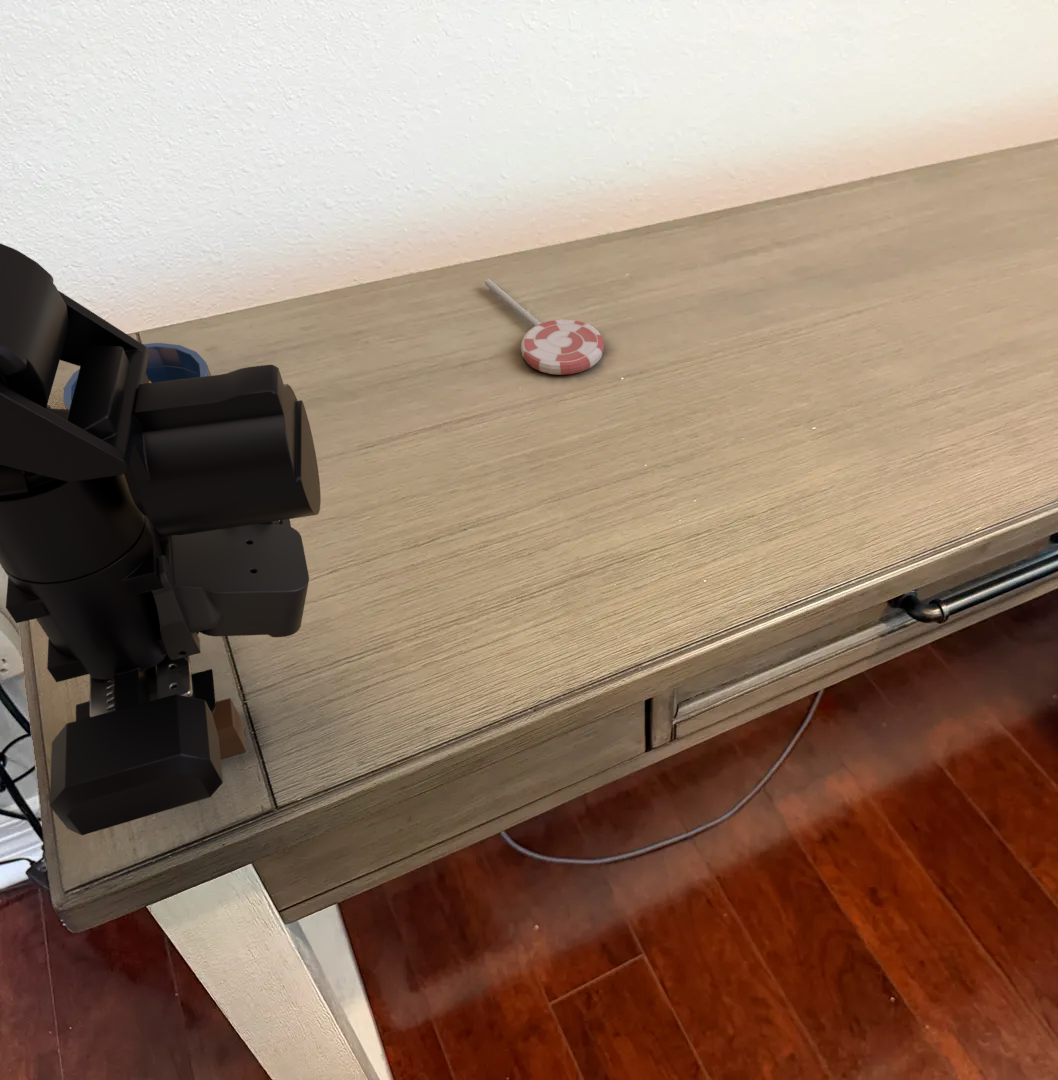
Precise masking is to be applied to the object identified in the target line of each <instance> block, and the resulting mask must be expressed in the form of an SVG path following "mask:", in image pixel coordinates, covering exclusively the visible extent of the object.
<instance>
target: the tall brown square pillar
mask: <svg viewBox="0 0 1058 1080" xmlns="http://www.w3.org/2000/svg"><path fill="white" fill-rule="evenodd" d="M213 719H214V722H215V726H216V729H217V733H218V737H219V746H220V757H221V760H222V759H225V758H229V757H233V756H236V755H240V754H244V753H246V752H247V745H246V736H245V728H244V722H243V720H242V718H241V716H240V714H239V712H238V710H237V708H236V705H235V704H234V702H233V700H232V698H231V697H229V698H226V699H225V698H224V699H222V700H218V701H216V708H215V711H214V713H213Z"/></svg>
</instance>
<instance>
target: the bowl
mask: <svg viewBox="0 0 1058 1080" xmlns="http://www.w3.org/2000/svg"><path fill="white" fill-rule="evenodd" d="M142 344H143V345H145V346H146V347H147V348H148V350H149V357H148V362H147V368H146V375H147V377H148V380H149V381H150V382H151V383H154V382H163V381H171V380H179V379H188V378H196V377H205V376H212V374H211V371H210V369H209V366H208V363H207V361H206V360H205V359H204V357H202V355H200V354H199V353H198V352H197V351H196V350H193V349H191V348H188V347H186V346H184V345H181V344H173V343H165V342H152V343H151V342H150V343H142ZM79 370H80V368H79V369H77V370H76V371H74V372H73V373H72V374H71V376H70V377H69V379H68V380H67V382H66V383H65V385H64V387H63V396H62V402H63V404H64V406H65V408H66V409H68V410H69V409H70V405H71V401H72V397H73V393H74V389H75V385H76V381H77V377H78V374H79Z"/></svg>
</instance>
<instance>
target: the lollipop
mask: <svg viewBox="0 0 1058 1080" xmlns="http://www.w3.org/2000/svg"><path fill="white" fill-rule="evenodd" d="M484 285H485V286H486V287H487V288H489V289H490V290H491V291H492V292H493V293H494V294H495V295H496V296H498V297H499V298H500V299H501V300H503V301H504V302H505V303H506V304H507V305H508V306H509V307H511V309H513V310H514V311H515V312H516V313H517V314H519V316H521V317H522V318H523V319H524V320H525V321H527V322H528V323H529V324H530V325H532V328H530V329H529V330H528V331H527V332H526V333H525V334H524V336H523V337H522V340H521V343H520V351H521V356H522V358H523V359H524V360H525V362H526V364H528V365H529V366H530V367H531V368H533V369H535V370H536V371H539V372H541V373H546V374H550V375H557V376H558V375H560V376H563V375H573V374H578V373H581V372H585V371H586V370H589V369H591V368H592V367H593V366H595V365H596V364H598V363H599V361H600V360H601V358H602V356H603V355H604V351H605V341H604V339H603V336H602V334H601V333H600V332H599V331H598V330H597V329H596V328H595V327H593V326H592V325H591V324H588V323H586V322H583V321H580V320H575V319H554V320H549V321H545V322H540V321H539V320H538V319H537V318H536V317H535V316H533V315H532V314H531V313H530V312H529V311H528V310H527V309H525V308H524V307H523V306H521V305H520V304H519V303H518V302H517V301H516V300H515V299H513V298H512V297H511V296H510V295H509V294H507V293H506V292H505V291H504V290H502V289H501V288H500V286H498V285H497V284H496V283H495V282H493V281H492V280H491V279H489V278H487V279H485V280H484Z"/></svg>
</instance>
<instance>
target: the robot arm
mask: <svg viewBox="0 0 1058 1080" xmlns="http://www.w3.org/2000/svg"><path fill="white" fill-rule="evenodd" d="M143 344H144V343H142V342H140V341H138V340H137V339H135V338H134V337H132V336H130V335H129V334H127V333H126V332H125V331H123V330H121V329H120V328H118V327H117V326H115V325H113V324H111V323H110V322H109V321H107V320H106V319H104V318H102V317H101V316H99V315H98V314H96V313H95V312H93V311H91V310H90V309H88V308H86V307H85V306H84V305H82V304H80V303H79V302H77V301H76V300H74V299H73V298H71V297H70V296H68V295H66V294H65V293H64V292H62V291H60V290H59V289H58V288H57V286H56V285H55V283H54V277H53V276H52V274H51V273H50V272H49V271H47V270H46V269H45V268H44V267H43V266H42V265H40V264H39V263H38V262H37V261H35V260H34V259H32V258H31V257H29V256H27V255H26V254H24V253H23V252H21V251H19V250H18V249H15V248H13V247H11V246H9V245H5V244H3V243H1V242H0V566H1V568H2V570H3V571H4V572H5V574H6V575H7V587H6V597H5V599H6V600H5V609H6V610H7V612H8V613H9V615H10V616H11V618H12V619H13V621H14V622H15V624H20V623H23V622H27V621H32V620H36V621H37V623H38V624H39V626H40V627H41V629H42V630H43V632H44V634H45V635H46V636H47V638H48V639H47V646H48V647H47V665H46V669H47V670H48V672H49V674H50V675H51V677H52V678H53V680H54V681H55V682H56V683H61V682H65V681H68V680H71V679H76V678H79V677H83V676H87V675H89V700H88V701H85V702H81V703H78V704H76V705H75V721H71V722H68V723H67V722H66V724H65V725H64V726H63V727H62V729H61V730H59V733H57V735H56V736H55V737H54V739H53V740H52V741H51V756H50V757H51V758H50V759H51V760H50V763H51V764H50V782H49V783H50V787H49V788H50V789H49V808H51V810H52V811H53V812H54V814H55V815H56V816H57V817H58V819H59V820H60V821H61V822H62V824H63V825H64V826H65V827H66V828H67V830H70V831H71V832H74V833H76V834H78V835H80V836H85V835H88V834H91V833H92V834H93V833H95V832H98V831H103V830H105V829H108V828H112V827H116V826H118V825H122V824H125V823H129V822H132V821H136V820H139V819H141V818H145V817H149V816H151V815H155V814H158V813H162V812H165V811H169V810H173V809H176V808H179V807H182V806H186V805H189V804H192V803H195V802H199V801H202V800H205V799H209V798H211V797H212V796H213V795H214V794H215V792H216V791H217V790H218V789H219V788H220V787H221V786H222V785H223V783H224V781H223V780H224V779H223V770H222V769H223V768H222V759H221V757H220V746H219V737H218V733H217V729H216V726H215V722H214V719H213V713H214V711H215V708H216V702H217V701H216V691H215V682H214V681H215V680H214V671H213V670H214V669H213V668H209V669H205V670H203V671H198V672H194V673H193V671H192V666H191V665H192V664H191V658H190V656H194V655H199V654H201V639H200V637H199V634H203V635H205V636H208V637H240V636H241V637H242V636H269V637H271V638H286V637H290V636H292V635H294V634H296V633H297V632H298V631H299V630H300V629H301V627H302V620H303V615H304V610H305V605H306V600H307V593H308V588H309V582H310V576H309V575H310V574H309V569H308V564H307V559H306V553H305V549H304V542H303V538H302V535H301V533H300V532H299V531H298V530H297V529H295V528H294V527H292V525H291V519H292V520H293V519H300V518H307V517H313V516H317V515H319V513H320V510H321V503H322V502H321V500H322V499H321V498H322V497H321V496H322V495H321V483H320V474H319V472H320V471H319V467H318V459H317V453H316V447H315V443H314V438H313V433H312V430H311V425H310V421H309V416H308V413H307V411H306V410H307V409H306V407H305V404H304V401H303V400H302V399H301V400H298V398H297V396H296V394H295V391H294V390H293V388H292V386H291V385H290V384H289V383H284V381H283V378H282V375H281V371H280V368H279V367H278V366H276V365H274V364H264V365H263V364H262V365H255V366H247V367H242V368H238V369H236V370H232V371H229V372H227V373H222V374H221V373H220V374H215V375H211V376H205V377H196V378H188V379H179V380H171V381H163V382H154V383H150V382H149V380H148V377H147V375H146V368H147V362H148V357H149V350H148V348H147V347H146V346H145V345H143ZM60 361H62V362H65V363H67V364H71V365H74V366H78V367H79V369H80V370H79V374H78V377H77V381H76V385H75V389H74V393H73V397H72V401H71V405H70V409H69V410H68V409H67V408H66V409H65V408H52V407H51V406H50V405H49V400H50V397H51V393H52V389H53V386H54V381H55V379H56V375H57V373H58V372H57V371H58V367H59V364H60Z"/></svg>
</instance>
